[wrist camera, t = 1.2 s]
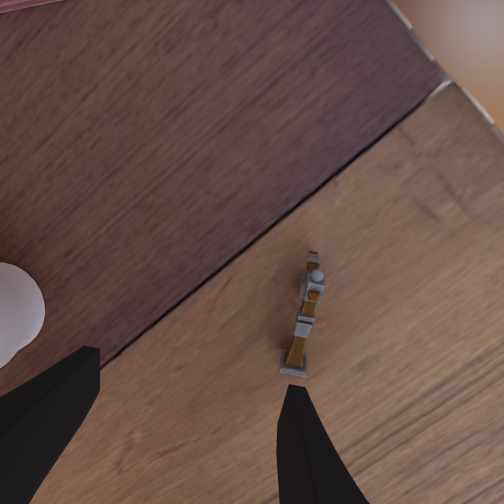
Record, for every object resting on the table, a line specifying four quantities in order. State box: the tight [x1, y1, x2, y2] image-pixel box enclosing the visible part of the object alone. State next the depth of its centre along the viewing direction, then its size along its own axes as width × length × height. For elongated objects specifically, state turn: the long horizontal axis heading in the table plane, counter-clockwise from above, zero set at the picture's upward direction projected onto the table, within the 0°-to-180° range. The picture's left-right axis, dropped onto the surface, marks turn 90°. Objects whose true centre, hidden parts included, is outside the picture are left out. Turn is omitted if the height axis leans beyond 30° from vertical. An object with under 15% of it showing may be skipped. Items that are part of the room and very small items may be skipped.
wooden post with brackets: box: [279, 251, 325, 377], centre depth 21 cm, size 2×8×4 cm, turn 171°
